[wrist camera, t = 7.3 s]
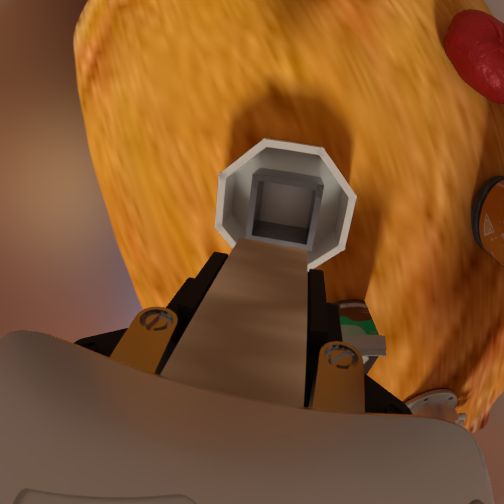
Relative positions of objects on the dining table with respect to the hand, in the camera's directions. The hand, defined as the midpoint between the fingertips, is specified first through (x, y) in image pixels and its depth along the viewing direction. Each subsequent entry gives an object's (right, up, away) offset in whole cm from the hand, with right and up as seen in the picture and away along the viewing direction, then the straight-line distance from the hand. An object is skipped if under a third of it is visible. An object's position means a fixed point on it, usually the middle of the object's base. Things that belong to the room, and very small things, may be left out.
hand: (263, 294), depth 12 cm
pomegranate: (+23, +22, +6) cm, 32 cm away
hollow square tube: (+3, +7, +15) cm, 17 cm away
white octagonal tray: (+3, +7, +15) cm, 17 cm away
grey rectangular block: (0, +1, +1) cm, 2 cm away
